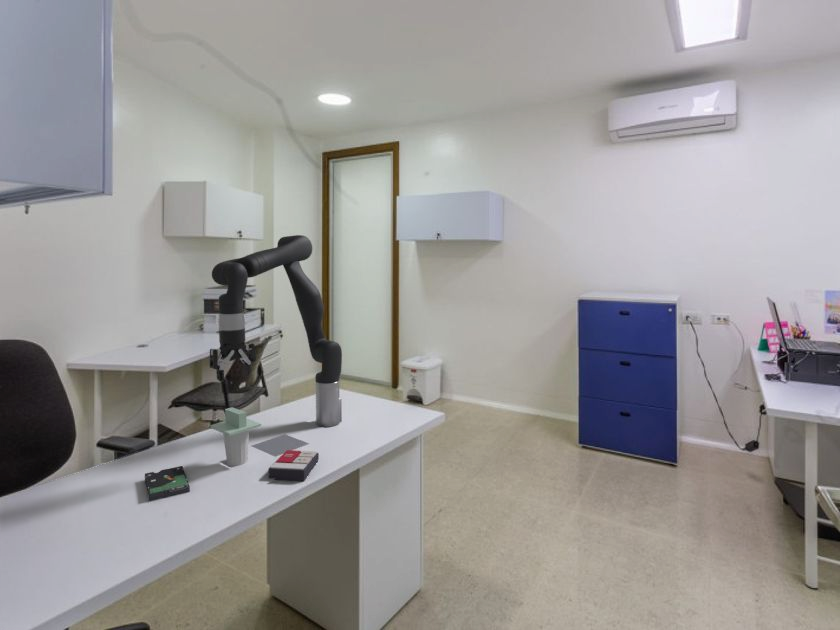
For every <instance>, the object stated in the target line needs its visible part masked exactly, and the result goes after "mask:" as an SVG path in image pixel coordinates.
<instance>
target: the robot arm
mask: <svg viewBox="0 0 840 630" xmlns="http://www.w3.org/2000/svg"><path fill="white" fill-rule="evenodd" d="M312 253H313V244H312V242H311V240H310V239H309V237H307V236H305V235H300V234H295V235H289V236H282V237H280V238H279V240H278V241H277V247H273V248H269V249H263V250H259V251H255V252H253V253H250V254H247V255H245V256H242V257H239V258H233V259H228V260H224V261H222V262H218V263H217V264H216V265H214V267H213V269H212V271H211V278H212V281H214V282H215V283H216V284H217V285H219V286H227V290H226V293H223V294H220V296H219V297H218V337H219V348H210V349H209V368H211V369H212V370H213V369H214V370H215V371H216V380H217V381H218V382H220V383H224V382H225V370H224V368H225V366H226V365H227V364H228V363H229V361H230V362H231V361H234V360H236V361H237V360H240V361H241V363H243V364H242V370H243V372H242V373H243V376H244V377H249V376H250V374H251V364H252V363H255V362H256V361H257V358H256V357H257V356H256V348H255V347H256V346H255V343H251V342H247V343H246V321H245V314H244V297H245V293H246V289H247V286H248V285H247V284H248V278H250V279H251V278H254V277H257V276H259V275H261V274H264V273H267V272H268V271H271V270H273V269H276V268H277V267H281V266H283V269H284V271H285V273H286V276H287V278H288V281H289V283H290V287H291V289H292V292H293V294H294V298H295V301H296V305H297V309H298V311H299V313H300V316H301V320H302V323H303V327H304V329H305V332H306V337H307V343H308V348H309V352H310V355H311V357H312V359H313V360H314V361H315V362H317V363H320V364H322V365H321V371H318V372H317V373H316V374H315V377H314V378H315V421H316V425H317V426H319V427H324V428H326V427H327V428H328V427H335V426H338V425H339V424H340V423H341V422H343V421H342V419H343V417H342V415H343V413H342V412H343V411H342V407H343V406H342V404H343V403H342V397H340V376H341V373H342V366H343V365H342V363H343V362H342V361H343V359H342V358H343V353H342V352H343V351H342V347H341V345H340V343H338V342H337V341H334V340H330V339H329V340H328V339H327V337H326V335H325V332H324V329H323V318H324V314H325V305H324V302H323V299H322V295H321V292H320V291H319V289H318V287H317V286H316V285H315V284H314V282H313V281H312V280H311V279H310V278H309V277H308V276H307V275H306V274H305V272H304V270H303V268H302V266H301V262H302V261H307V260H308V259H309V258H310V257H311V255H312ZM246 351H247V354H246V353H245V352H246ZM220 354H221V355H220ZM219 356H220V357H219Z"/></svg>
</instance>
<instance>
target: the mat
mask: <svg viewBox="0 0 840 630" xmlns="http://www.w3.org/2000/svg"><path fill="white" fill-rule="evenodd" d="M307 445H310V443H309V442H306V441H303V440H301V439H299V438H295V437H293V436H291V435H288V434H282V435H278V436H275V437H273V438H269V439H267V440H264V441H261V442H258V443H254V444H253V445H251V447H253V448H255V449H257V450H259V451H262V452H264V453H266V454H269V455H270V456H273V457H278V456H280V455H281V456H282V455H283V454H284V453H285V452H286V451H287V450H294V451H295V450H297V449H300V448H302V447H305V446H307Z"/></svg>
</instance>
